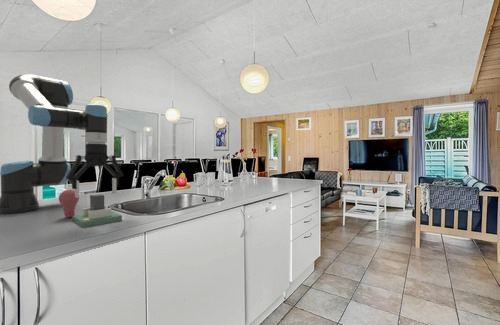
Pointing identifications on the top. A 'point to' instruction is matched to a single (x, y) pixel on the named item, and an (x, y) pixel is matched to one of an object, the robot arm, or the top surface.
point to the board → (96, 217)
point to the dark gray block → (96, 202)
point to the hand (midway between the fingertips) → (96, 195)
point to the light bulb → (68, 202)
